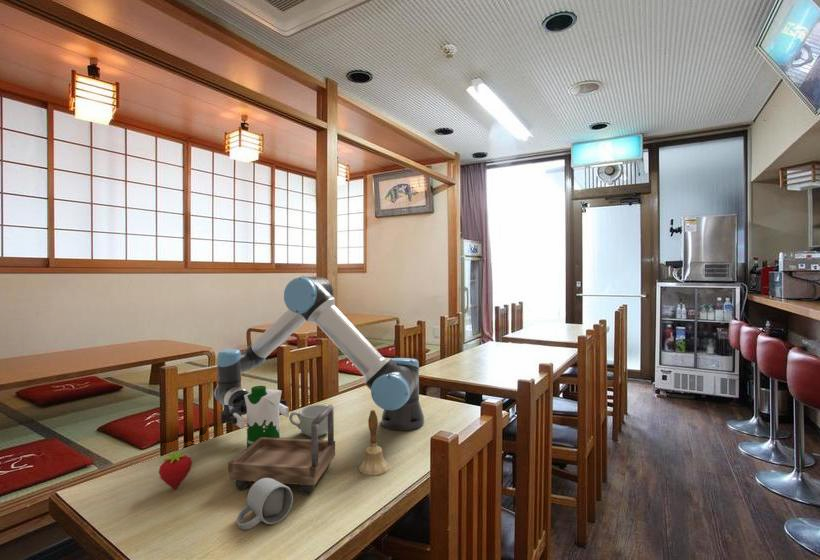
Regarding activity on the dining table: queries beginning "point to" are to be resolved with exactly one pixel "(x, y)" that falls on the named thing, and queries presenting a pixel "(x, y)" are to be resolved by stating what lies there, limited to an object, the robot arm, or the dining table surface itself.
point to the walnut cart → (286, 458)
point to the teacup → (310, 419)
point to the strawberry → (175, 469)
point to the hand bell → (373, 452)
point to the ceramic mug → (266, 503)
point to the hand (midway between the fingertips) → (266, 417)
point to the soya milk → (262, 413)
